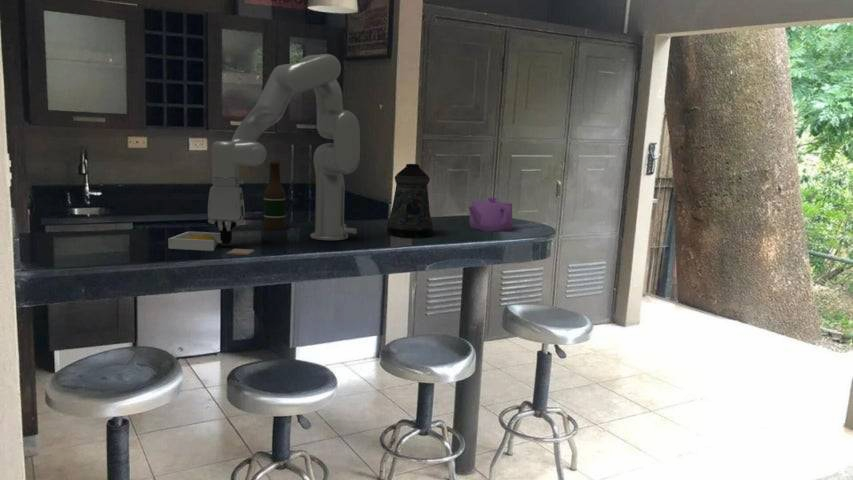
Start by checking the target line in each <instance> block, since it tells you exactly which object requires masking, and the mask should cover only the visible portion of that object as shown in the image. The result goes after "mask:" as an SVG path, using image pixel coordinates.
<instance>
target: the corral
mask: <svg viewBox="0 0 853 480" xmlns="http://www.w3.org/2000/svg"><path fill="white" fill-rule="evenodd" d="M192 235H201V236H203V235H210V236H212V237H213V238H215V239H216V241H217V244H222V241H221V240H220V232H205V231H186V232H183V233H180V234H177V235H175V236H172V237H169V238H168V239H167V240H168V242H167V243H168V249H171V250H173V249H174V250H186V251H187V250H190V251H209V252H210V251H211V252H214V251H215V248H214V240H199V239H187V238H188V237H190V236H192Z"/></svg>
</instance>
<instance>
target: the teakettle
mask: <svg viewBox="0 0 853 480" xmlns="http://www.w3.org/2000/svg"><path fill="white" fill-rule="evenodd" d="M468 209H469V212H470V214H469V226H470V227H469V228H471V229H475V230H479V231H485V232H493V233H494V232H504V231H505V232H506V231H508V232H509V231H511V229H512V228H513V203H509V202H505V201H499V200H497V197H495V196H494V197H493V196H489V197H487V200H474V201H471V205H470V206H468Z"/></svg>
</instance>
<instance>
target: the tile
mask: <svg viewBox="0 0 853 480" xmlns="http://www.w3.org/2000/svg"><path fill="white" fill-rule="evenodd" d="M254 252H255V249H249V248H248V249H247V248H233V249H231V250H229V251H228V252H226V254H227V255H239V256H240V255H241V256H244V255H245V256H249V255H251V254H252V253H254Z"/></svg>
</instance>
